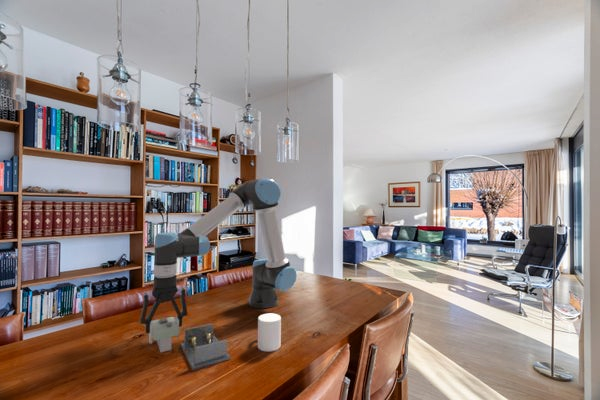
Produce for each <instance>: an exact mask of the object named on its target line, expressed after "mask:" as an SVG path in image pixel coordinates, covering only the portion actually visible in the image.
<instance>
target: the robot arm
mask: <svg viewBox="0 0 600 400" xmlns="http://www.w3.org/2000/svg"><path fill="white" fill-rule="evenodd" d="M281 194H282V193H281V188H280V185H279V183H278V182H276V181H275V180H274V179H271V178H265V177H263V178H258V179H251V180H248V181H245V182H243V183H241V185H239V186H238V187H237V188H235V189H234V190H233V191H231V192H230V193H229V195H228V197H227V198H226V199H224V200H223V201H222V202H220V203H219V204H217V205H216V206H215V207H213V208H211V210H210V211H208V212H207V213H205V214H204V215H203V216H201V217H200V218H198V219H197V220H196V221H195V222H193V223H192V224H191V225H189V226H188V227H187V228H186V229H183V230H182V231H181V232H180V233H176V232H158V233H156V235H155V239H154V246H153V248H154V263H153V276H154V277H153V289H152V292H151V291H150V292H148V293H147V292H146V293H144V294H143V299H144V300H143V305H142V310H141V315H140V317H139V322H140V324H141V325H145V332H146V334H148V343H149V344H153V336H152V326H153V324H152V322H151V321H153V318H154V317H155V314H156V311H157V310H158V307H159V306H160V304H162V303H165V302H170V303H171V305H172V307H173V309H174V311H175V313H176V315H177V316H175V321H176V323H177V324H178V326H179V328H180V327H182V326H183V318H184V317H186V316H188V309H187V303H186V297H185V295H186V289H185V288H184V287H181V288H178V287H177V282H178V281H177V273H178V268H177V267H178V258H180V259H181V258H188V257H189V258H190V257H200V256H206V255H208V254H209V251H210V248H211V243H210V240H209V238H208V237H207V235H208V234H209V233H211V232H212V231H213V230H215V229H216V228H217V227H218V226H219V225H221V224H222V223H224V222H225V221H226V220H227V219H228V218H230V217H231V216H232V215H234V214H235V213H236V212H238V211H239V210H243V209H244V208H246V207H248V206H250V205H252V207H253V211H255V212H256V213H257V214H258V219H259V220H258V221H259V225H260V230H261V235H262V239H263V245H264V249H265V253H266V254H265V255H266V258H260V259H256V260H255V259H254V261H253V263H252V286H251V287H252V288H251V289H252V290H251V292H250V295H249V297H248V306H250V307H251V308H256V309H269V308H273V307H276V306H278V304H279V297H278V293H277V291H281V292H286V291H288V290H290V289H291V288H293V287H294V285H295V283H296V281H297V270H296V269H295V268H294V267H293V266H291V264H290V258H288V257H286V254H285V249H284V244H283V238H282V234H281V229H280V223H279V219H278V213H277V208H278V206H279V200H280V198H281ZM276 290H277V291H276ZM177 293H178V295H179V299H180V303H181V304H180V305H181V310H182V312H181V310H180V308H179V306H178V303H177V302H176V300H175V296H176V295H177ZM152 297H153V298H154V299H155V300H154V302H153V305H152V307H151V309H150V311H149V313H148V312H147V311H148V307H149V303H150V300H151V298H152ZM147 313H148V315H147ZM146 316H147V317H146ZM179 336H180V334H179V335H176V336H175V337H176V338H179Z"/></svg>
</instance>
